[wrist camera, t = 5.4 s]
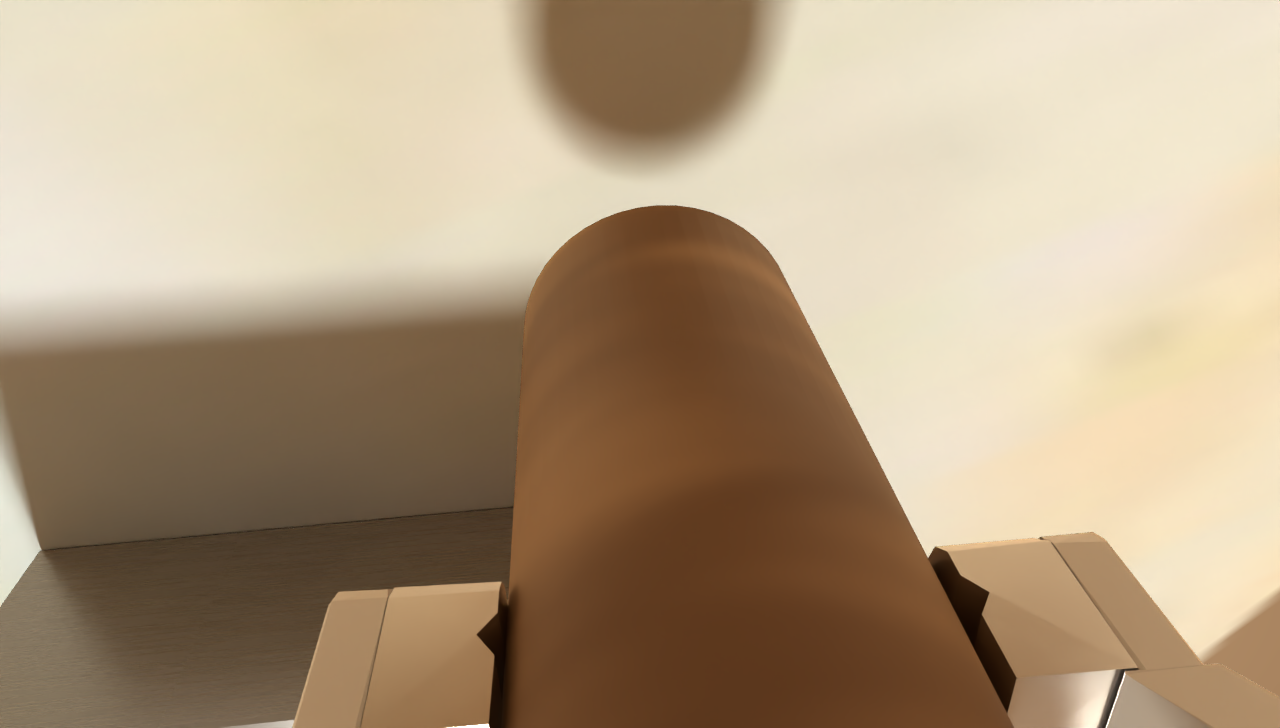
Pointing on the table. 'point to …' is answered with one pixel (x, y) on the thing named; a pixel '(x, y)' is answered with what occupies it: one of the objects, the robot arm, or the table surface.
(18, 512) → the table surface
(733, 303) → the walnut peg
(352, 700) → the robot arm
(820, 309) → the table surface
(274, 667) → the socket block
